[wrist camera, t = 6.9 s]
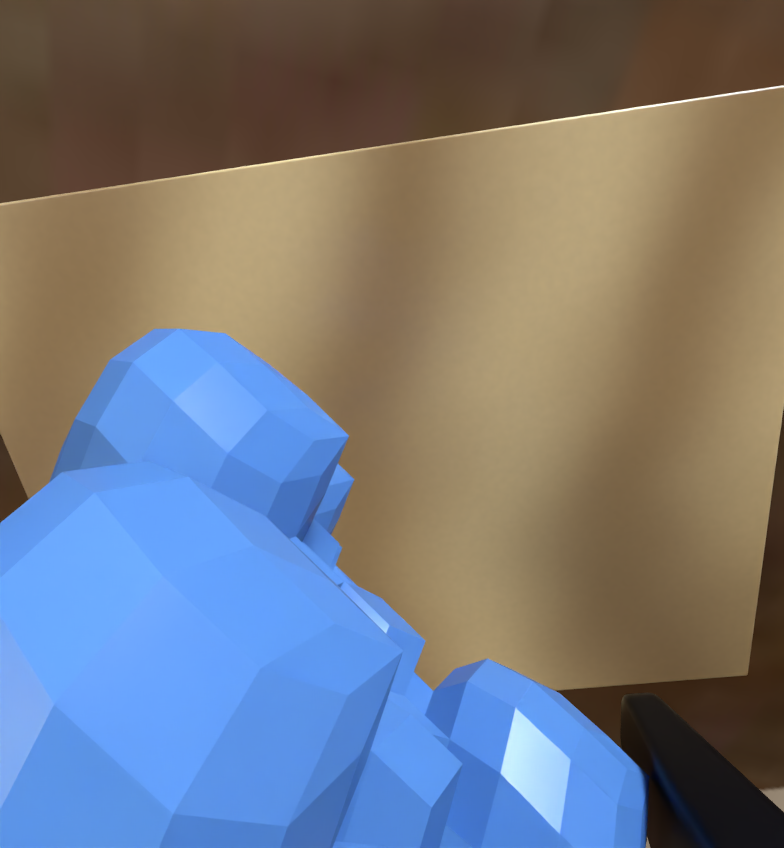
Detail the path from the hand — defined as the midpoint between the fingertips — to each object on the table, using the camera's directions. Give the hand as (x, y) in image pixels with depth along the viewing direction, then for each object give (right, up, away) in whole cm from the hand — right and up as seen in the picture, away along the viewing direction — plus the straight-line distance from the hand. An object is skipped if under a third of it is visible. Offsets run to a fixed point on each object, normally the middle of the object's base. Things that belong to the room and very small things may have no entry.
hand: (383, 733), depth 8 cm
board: (0, +3, +9) cm, 9 cm away
